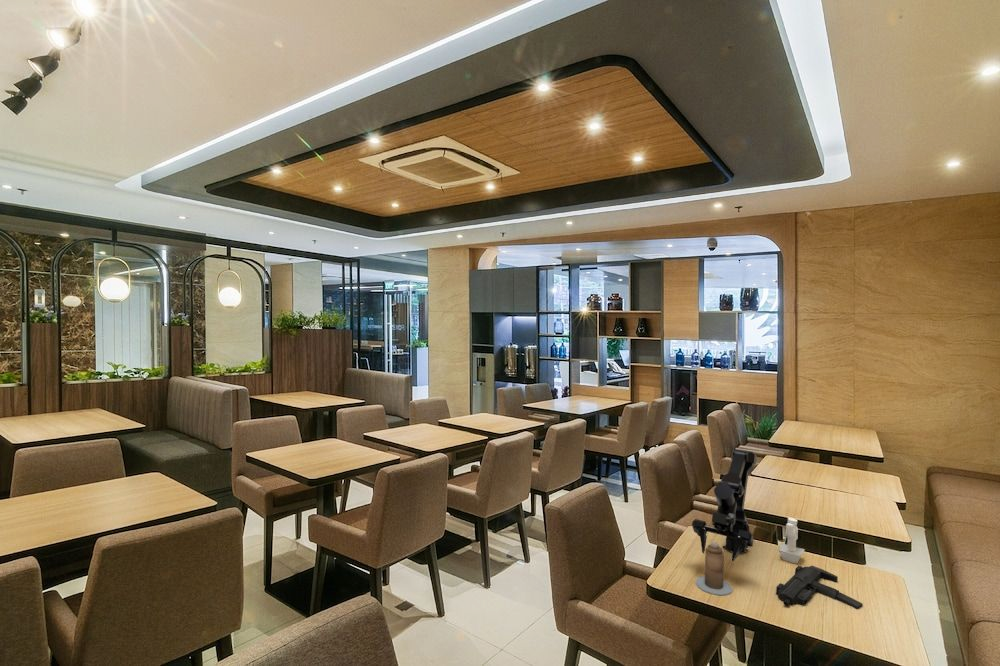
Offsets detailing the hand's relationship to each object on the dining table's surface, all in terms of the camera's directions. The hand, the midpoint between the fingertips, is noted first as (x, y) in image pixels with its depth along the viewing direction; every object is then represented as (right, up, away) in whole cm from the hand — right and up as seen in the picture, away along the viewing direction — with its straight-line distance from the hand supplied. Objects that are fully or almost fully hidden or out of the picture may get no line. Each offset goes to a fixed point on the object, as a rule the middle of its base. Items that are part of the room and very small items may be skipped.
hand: (717, 556), depth 167 cm
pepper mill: (-2, -8, -3) cm, 9 cm away
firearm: (+29, -10, -8) cm, 32 cm away
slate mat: (-2, -8, -3) cm, 9 cm away
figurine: (+34, -9, +16) cm, 39 cm away
